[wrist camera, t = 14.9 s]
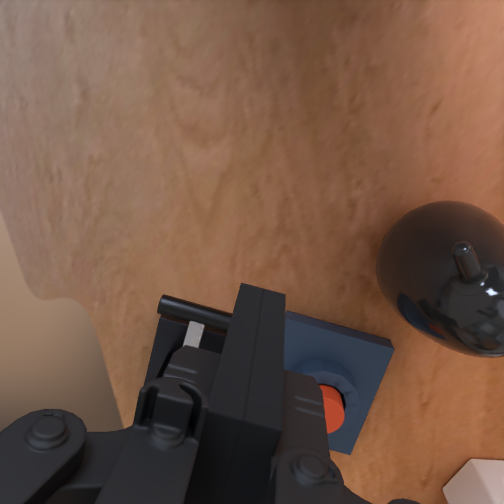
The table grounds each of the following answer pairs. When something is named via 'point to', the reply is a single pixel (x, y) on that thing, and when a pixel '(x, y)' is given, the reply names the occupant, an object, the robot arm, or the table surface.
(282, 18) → the table surface
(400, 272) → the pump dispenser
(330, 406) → the button
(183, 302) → the tap lever
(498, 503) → the jar
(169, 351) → the lever stand
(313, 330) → the button block
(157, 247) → the table surface
